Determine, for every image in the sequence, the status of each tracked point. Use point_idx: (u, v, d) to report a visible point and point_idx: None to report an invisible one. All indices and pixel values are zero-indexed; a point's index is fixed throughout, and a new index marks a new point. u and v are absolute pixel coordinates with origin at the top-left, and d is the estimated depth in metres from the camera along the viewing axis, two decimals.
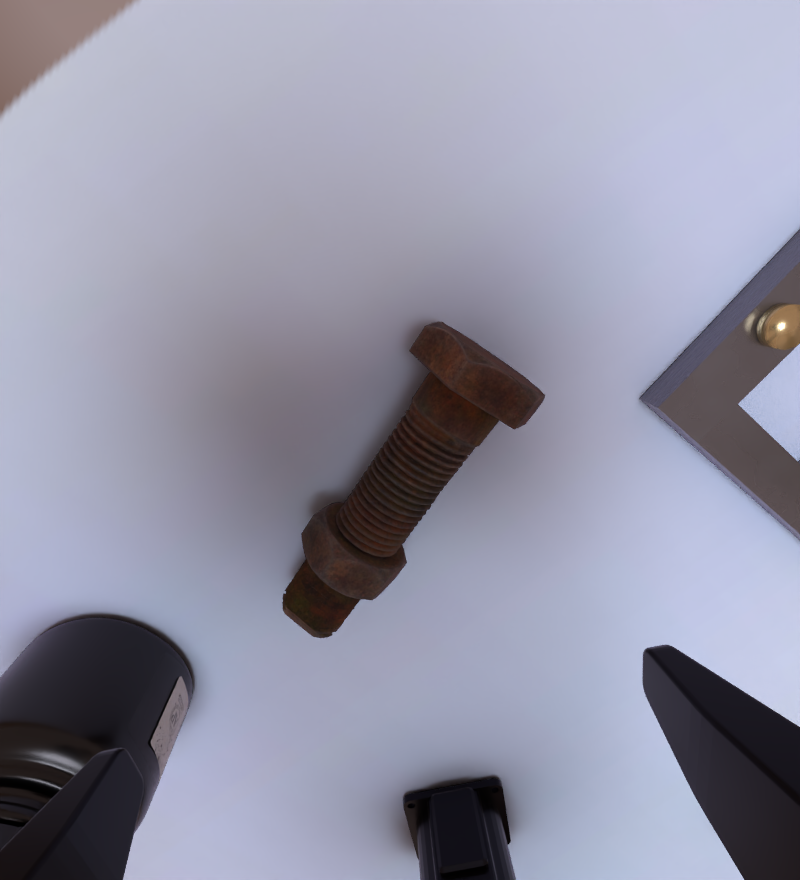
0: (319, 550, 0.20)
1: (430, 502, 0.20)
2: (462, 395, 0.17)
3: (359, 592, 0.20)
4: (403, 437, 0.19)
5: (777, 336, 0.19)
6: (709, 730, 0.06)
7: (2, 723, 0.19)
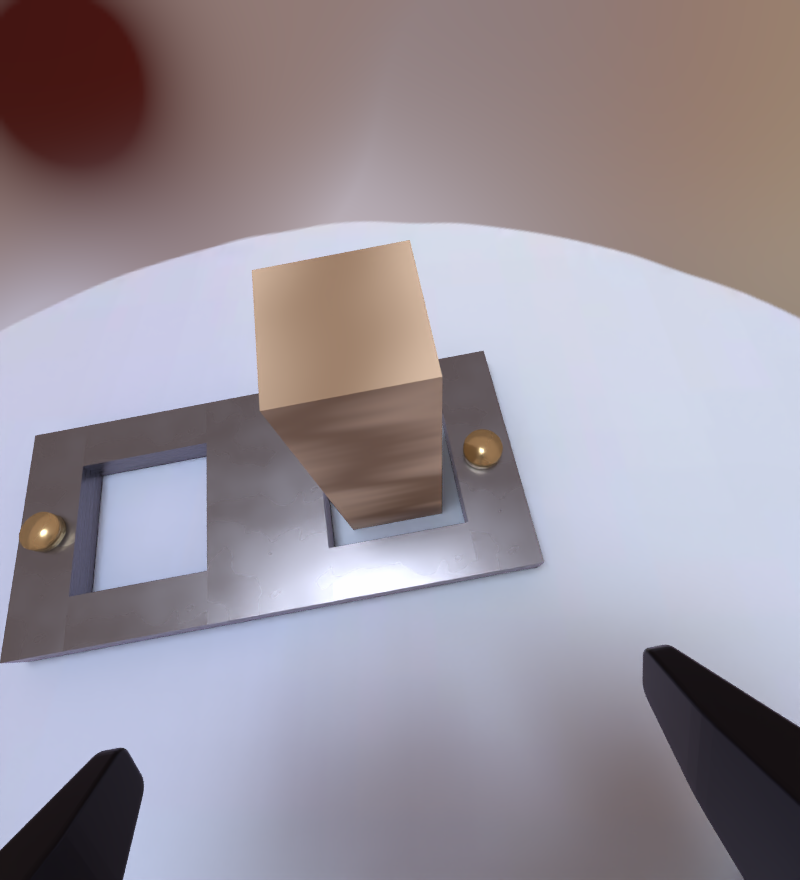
0: None
1: None
2: None
3: None
4: None
5: (34, 542, 0.22)
6: (709, 730, 0.06)
7: None
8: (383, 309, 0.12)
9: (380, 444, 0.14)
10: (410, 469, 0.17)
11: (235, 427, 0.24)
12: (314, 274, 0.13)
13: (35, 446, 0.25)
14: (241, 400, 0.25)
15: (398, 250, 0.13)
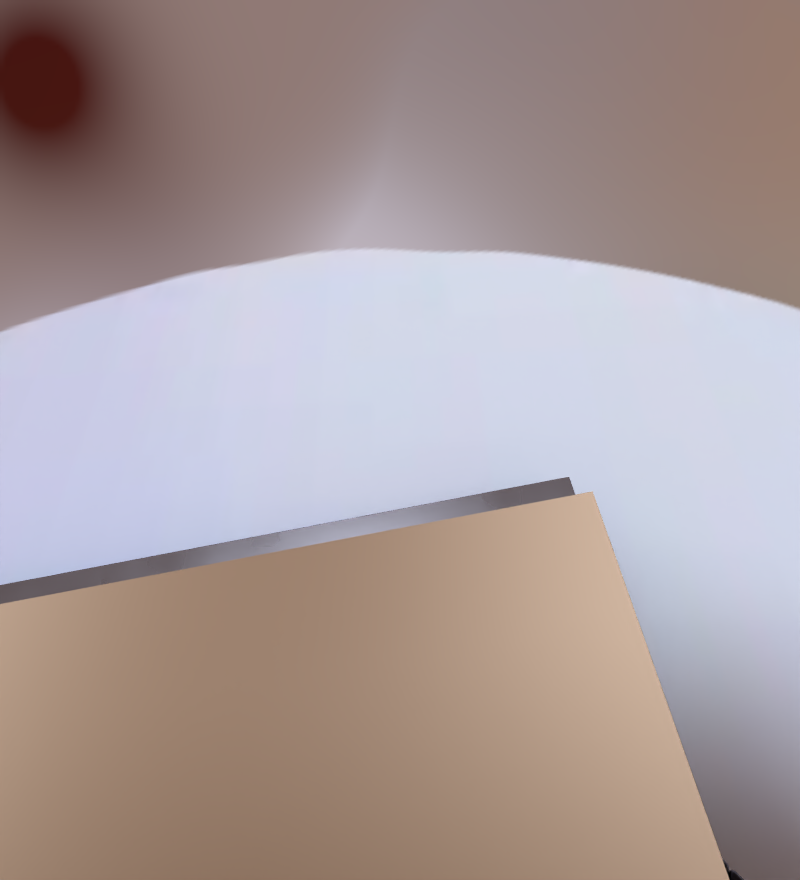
0: None
1: None
2: None
3: None
4: None
5: None
6: None
7: None
8: None
9: None
10: None
11: None
12: (152, 676, 0.03)
13: None
14: (161, 562, 0.15)
15: (549, 553, 0.03)
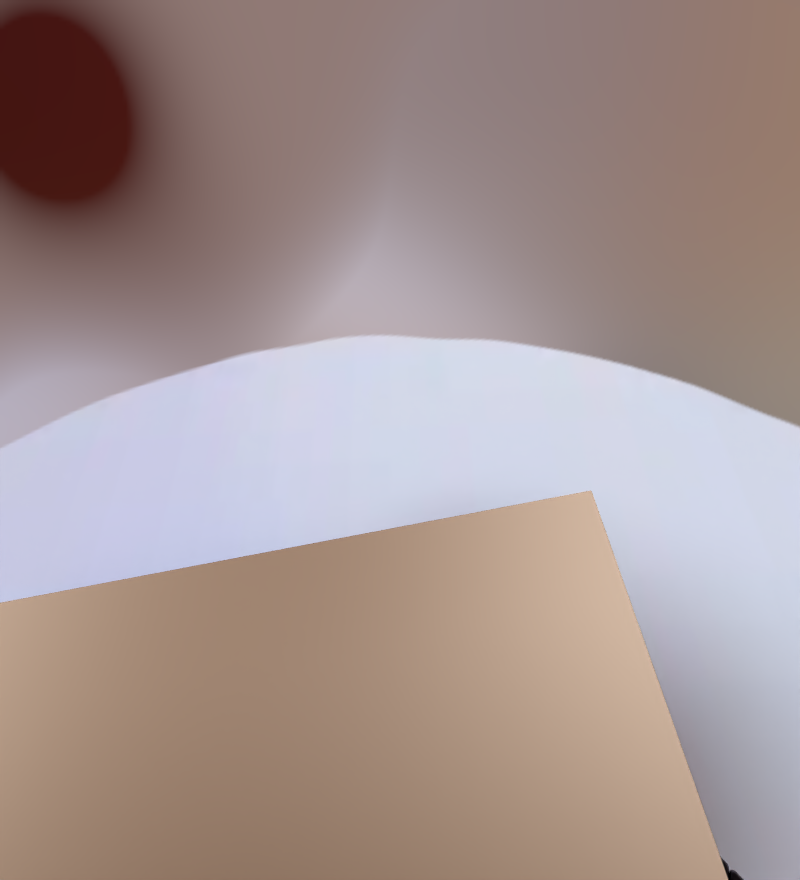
0: None
1: None
2: None
3: None
4: None
5: None
6: None
7: None
8: None
9: None
10: None
11: None
12: (153, 673, 0.03)
13: None
14: None
15: (546, 550, 0.03)
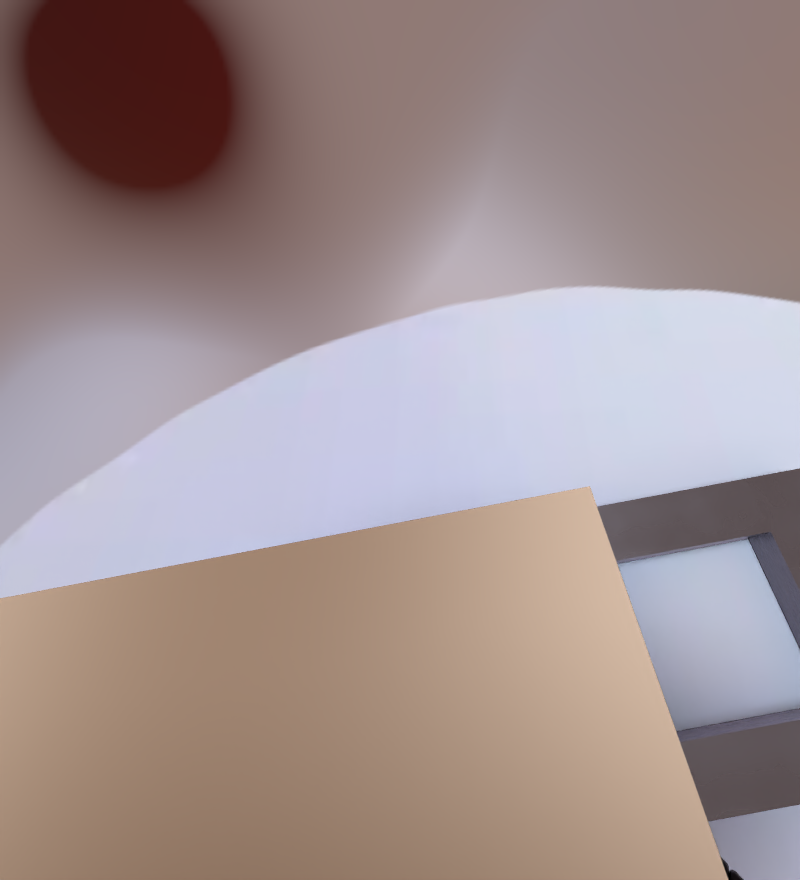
0: None
1: None
2: None
3: None
4: None
5: None
6: None
7: None
8: None
9: None
10: None
11: None
12: (152, 669, 0.03)
13: None
14: None
15: (547, 549, 0.03)
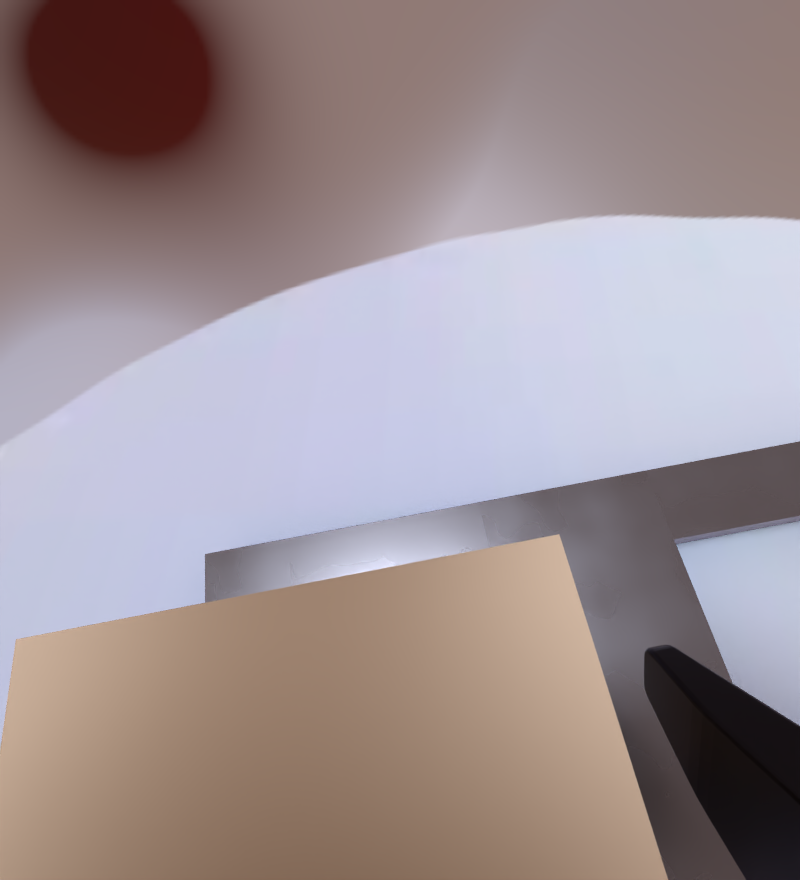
0: None
1: None
2: None
3: None
4: None
5: None
6: (710, 730, 0.06)
7: None
8: None
9: None
10: None
11: None
12: (226, 677, 0.04)
13: (207, 573, 0.15)
14: (536, 498, 0.15)
15: (525, 583, 0.04)
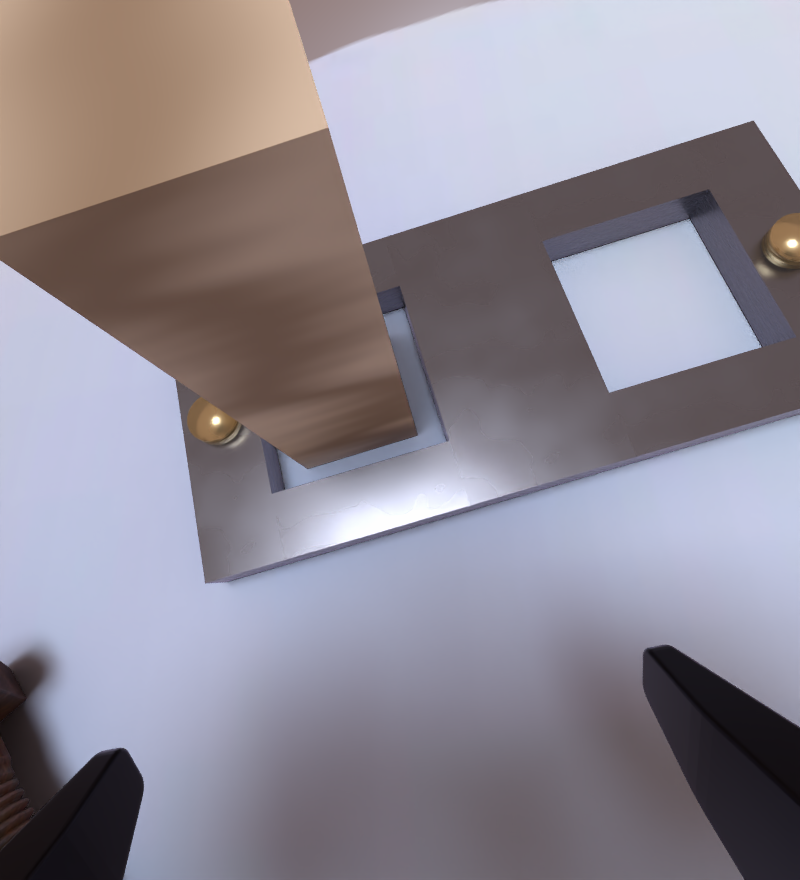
0: None
1: None
2: None
3: None
4: None
5: (210, 431, 0.17)
6: (709, 730, 0.06)
7: None
8: (212, 26, 0.06)
9: (278, 321, 0.09)
10: (348, 367, 0.11)
11: (433, 261, 0.18)
12: None
13: None
14: (431, 227, 0.18)
15: None
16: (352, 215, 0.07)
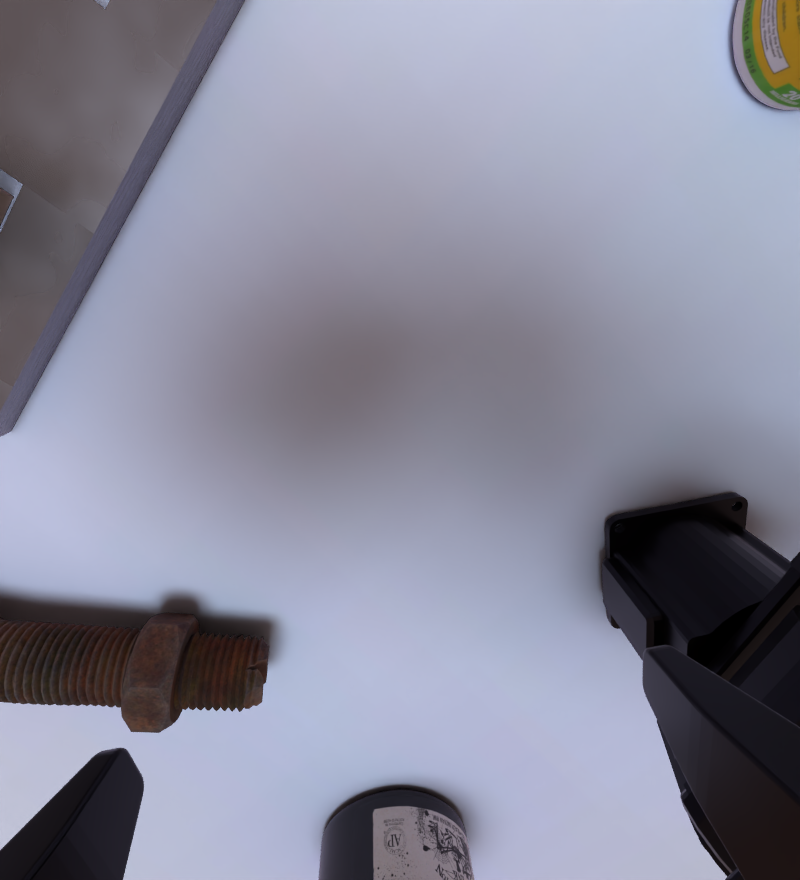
0: None
1: (46, 659, 0.19)
2: None
3: (155, 700, 0.19)
4: None
5: None
6: (709, 730, 0.06)
7: None
8: None
9: None
10: None
11: None
12: None
13: None
14: None
15: None
16: None
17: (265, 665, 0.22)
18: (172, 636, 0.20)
